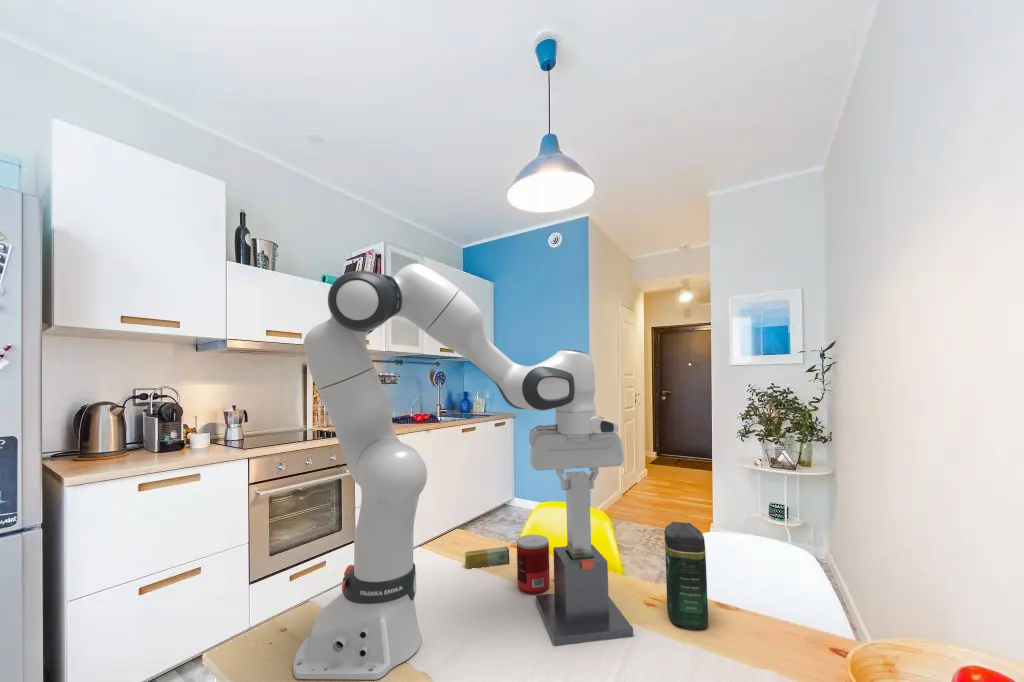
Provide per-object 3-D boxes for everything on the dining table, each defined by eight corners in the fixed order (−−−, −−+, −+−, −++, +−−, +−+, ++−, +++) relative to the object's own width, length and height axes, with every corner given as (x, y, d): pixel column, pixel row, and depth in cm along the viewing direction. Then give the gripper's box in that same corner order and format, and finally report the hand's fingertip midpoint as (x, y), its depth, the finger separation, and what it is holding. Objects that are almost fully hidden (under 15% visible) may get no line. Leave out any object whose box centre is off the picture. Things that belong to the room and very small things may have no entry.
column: (573, 585, 88) (570, 476, 90) (567, 575, 92) (564, 471, 94) (593, 583, 89) (590, 475, 91) (586, 573, 93) (583, 470, 95)
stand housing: (553, 645, 81) (552, 570, 82) (535, 602, 97) (534, 539, 98) (633, 636, 83) (630, 563, 85) (603, 595, 99) (601, 533, 100)
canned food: (555, 583, 105) (554, 537, 106) (539, 598, 98) (538, 548, 99) (528, 576, 109) (527, 531, 110) (511, 589, 102) (510, 542, 103)
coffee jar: (713, 633, 84) (708, 536, 85) (670, 628, 86) (666, 533, 87) (703, 607, 93) (699, 520, 95) (665, 603, 95) (661, 517, 97)
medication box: (507, 560, 119) (507, 545, 119) (510, 564, 116) (509, 549, 117) (464, 566, 116) (464, 551, 116) (466, 570, 113) (466, 554, 114)
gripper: (532, 427, 88) (533, 495, 87) (625, 424, 92) (627, 490, 91) (526, 424, 95) (527, 487, 94) (613, 421, 98) (615, 482, 97)
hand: (577, 488), depth 92 cm, fingers closed on column, 4 cm apart
